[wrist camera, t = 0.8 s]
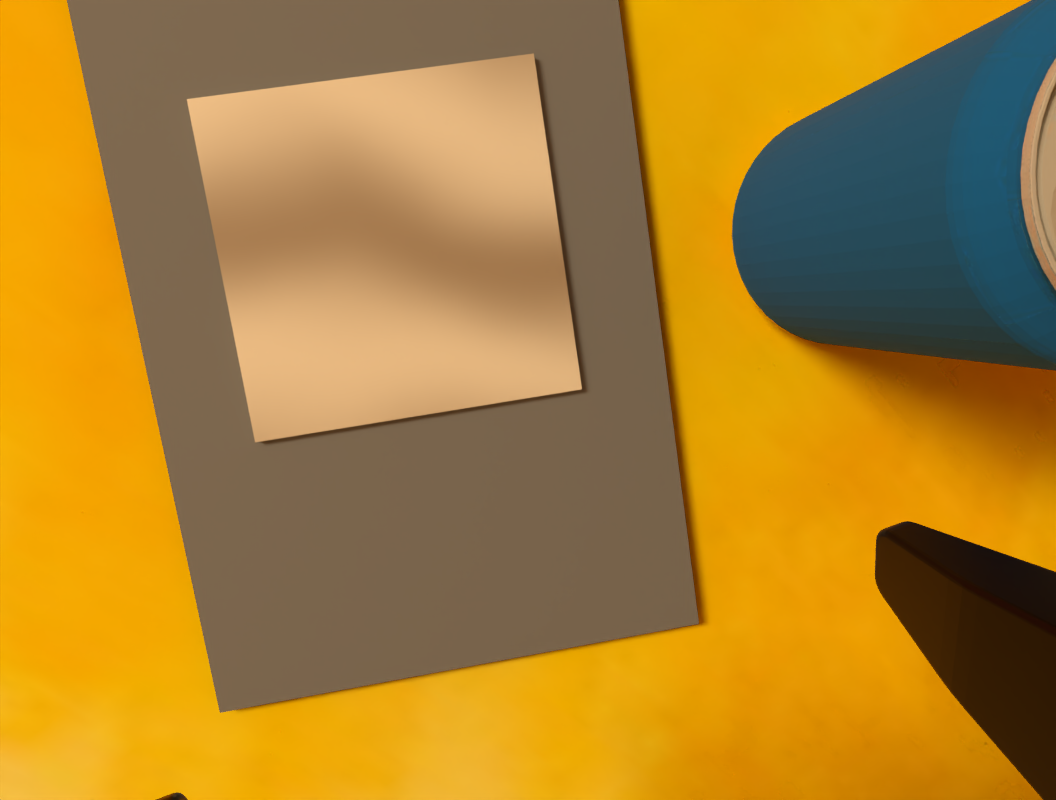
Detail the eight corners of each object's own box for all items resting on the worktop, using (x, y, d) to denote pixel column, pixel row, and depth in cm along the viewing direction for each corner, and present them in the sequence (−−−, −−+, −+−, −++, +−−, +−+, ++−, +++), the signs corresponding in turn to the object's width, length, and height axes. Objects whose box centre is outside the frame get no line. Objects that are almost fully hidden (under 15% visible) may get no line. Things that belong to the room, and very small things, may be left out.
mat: (694, 617, 25) (702, 627, 24) (225, 704, 24) (216, 717, 23) (582, -246, 21) (587, -266, 21) (34, -188, 20) (17, -208, 20)
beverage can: (969, 283, 24) (1466, 268, 12) (775, 380, 24) (1091, 459, 12) (888, 77, 23) (1345, -157, 11) (686, 176, 23) (935, 44, 11)
